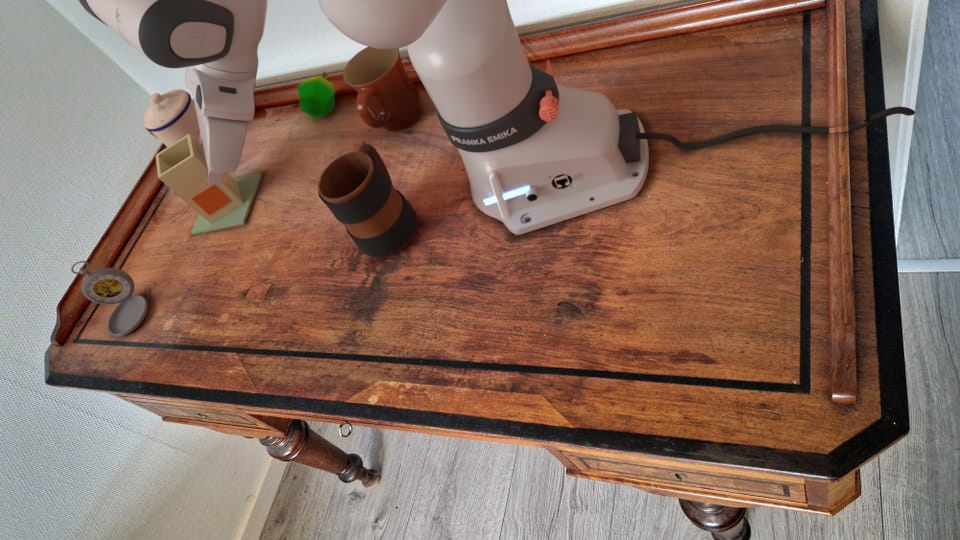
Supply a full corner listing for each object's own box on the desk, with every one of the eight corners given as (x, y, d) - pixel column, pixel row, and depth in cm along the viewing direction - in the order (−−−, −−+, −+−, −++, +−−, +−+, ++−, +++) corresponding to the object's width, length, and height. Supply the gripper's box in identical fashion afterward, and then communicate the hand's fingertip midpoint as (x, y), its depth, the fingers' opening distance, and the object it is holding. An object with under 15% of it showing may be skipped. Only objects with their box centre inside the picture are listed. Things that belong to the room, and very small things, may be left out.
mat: (262, 174, 103) (260, 172, 103) (244, 224, 98) (242, 222, 97) (212, 185, 107) (210, 183, 106) (192, 234, 101) (190, 233, 101)
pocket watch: (127, 344, 92) (67, 309, 85) (99, 325, 97) (41, 291, 90) (165, 297, 95) (111, 259, 88) (137, 281, 100) (83, 244, 92)
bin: (243, 204, 100) (193, 155, 92) (210, 224, 100) (158, 178, 92) (237, 181, 104) (189, 133, 96) (206, 201, 104) (155, 154, 96)
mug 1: (386, 100, 102) (353, 47, 94) (436, 92, 99) (405, 36, 91) (364, 157, 96) (327, 107, 88) (416, 151, 93) (382, 98, 85)
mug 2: (428, 183, 88) (388, 121, 79) (415, 256, 81) (369, 197, 72) (373, 193, 91) (328, 134, 82) (355, 264, 84) (304, 209, 76)
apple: (296, 90, 99) (310, 50, 104) (286, 115, 104) (300, 77, 109) (340, 109, 102) (352, 70, 106) (329, 133, 107) (341, 95, 111)
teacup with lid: (231, 123, 116) (185, 72, 107) (212, 161, 111) (162, 111, 102) (181, 133, 120) (132, 85, 111) (160, 170, 116) (108, 123, 107)
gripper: (188, 40, 94) (180, 125, 101) (204, 110, 80) (193, 202, 88) (234, 48, 97) (223, 129, 105) (257, 117, 84) (242, 205, 91)
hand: (209, 163), depth 96 cm, fingers open, 8 cm apart
